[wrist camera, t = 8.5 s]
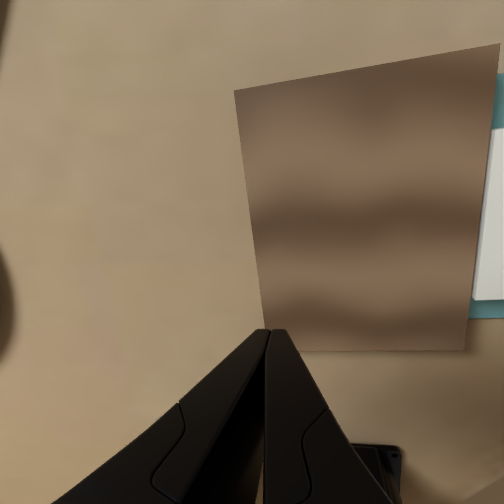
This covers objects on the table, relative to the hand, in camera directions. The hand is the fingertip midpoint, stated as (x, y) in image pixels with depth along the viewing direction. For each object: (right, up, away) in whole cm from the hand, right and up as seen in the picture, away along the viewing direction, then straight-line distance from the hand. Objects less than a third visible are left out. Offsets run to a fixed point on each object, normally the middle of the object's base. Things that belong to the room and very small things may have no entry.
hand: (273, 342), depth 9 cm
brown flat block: (+6, +4, +10) cm, 13 cm away
